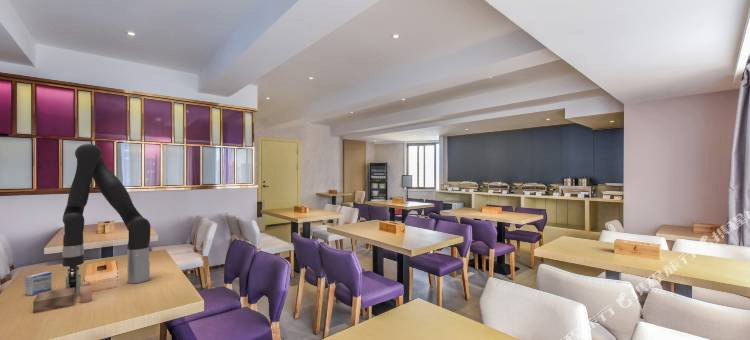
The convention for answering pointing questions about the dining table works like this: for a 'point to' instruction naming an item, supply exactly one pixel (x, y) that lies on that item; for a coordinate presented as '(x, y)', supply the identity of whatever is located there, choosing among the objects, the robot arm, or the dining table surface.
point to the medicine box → (37, 283)
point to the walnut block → (54, 300)
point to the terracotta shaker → (85, 292)
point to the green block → (76, 284)
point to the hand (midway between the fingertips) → (73, 290)
